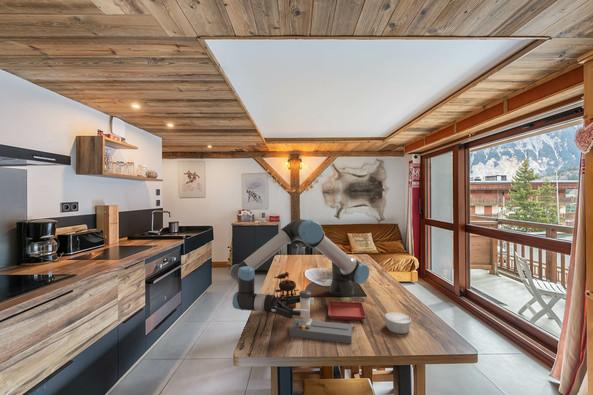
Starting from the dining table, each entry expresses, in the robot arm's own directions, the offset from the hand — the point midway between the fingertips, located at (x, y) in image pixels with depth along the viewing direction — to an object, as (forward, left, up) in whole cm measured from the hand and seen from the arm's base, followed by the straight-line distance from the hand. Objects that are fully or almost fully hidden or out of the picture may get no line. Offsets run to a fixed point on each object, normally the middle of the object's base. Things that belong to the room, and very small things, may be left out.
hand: (311, 307), depth 113 cm
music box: (+3, -29, -11) cm, 31 cm away
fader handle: (+2, -1, -8) cm, 8 cm away
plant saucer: (-24, -13, -12) cm, 29 cm away
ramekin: (-39, +8, -11) cm, 41 cm away
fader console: (-4, +2, -11) cm, 12 cm away
